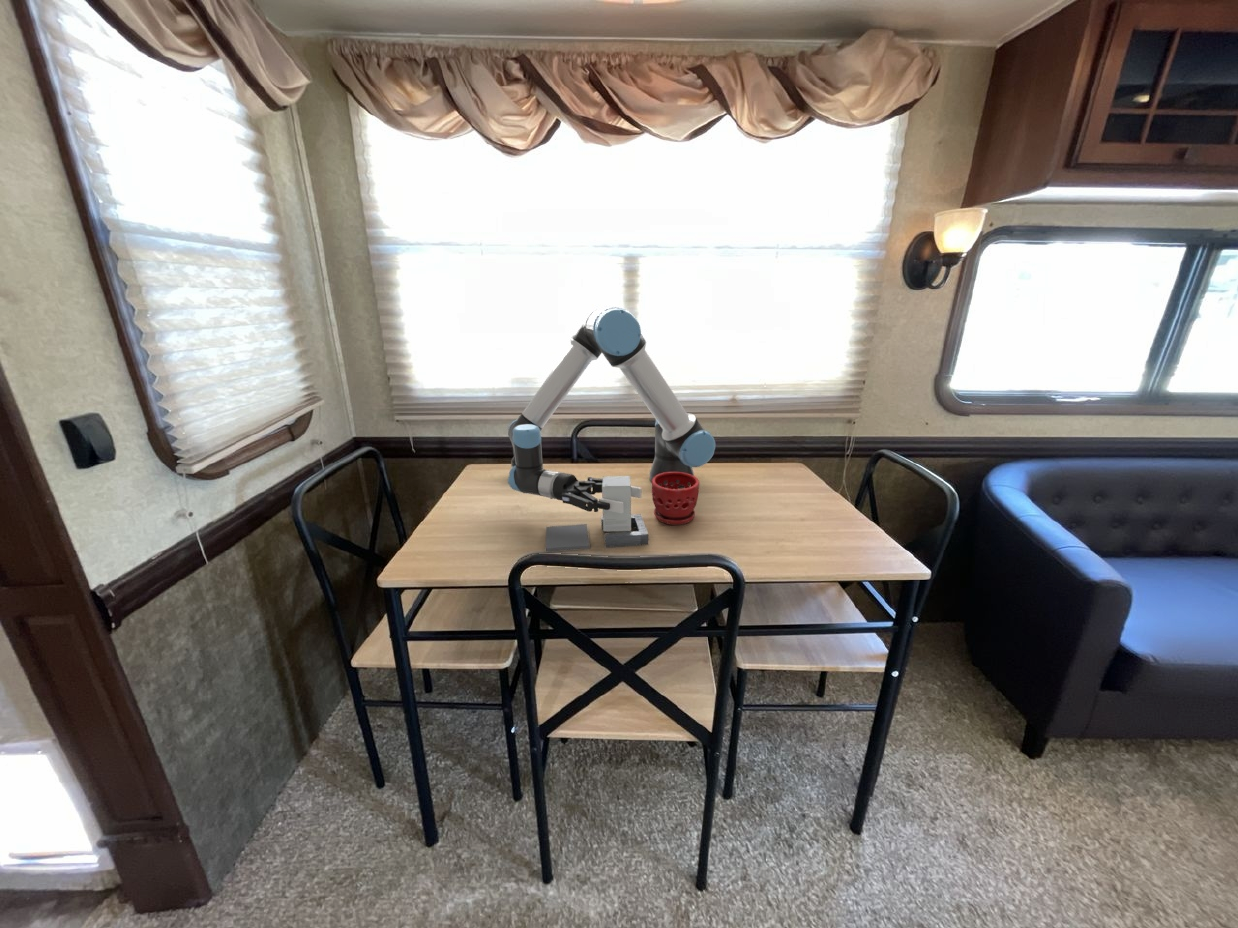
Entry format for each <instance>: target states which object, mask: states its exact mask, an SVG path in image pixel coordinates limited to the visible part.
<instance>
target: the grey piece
mask: <svg viewBox="0 0 1238 928" xmlns="http://www.w3.org/2000/svg"><path fill="white" fill-rule="evenodd" d="M600 517H601V518H600V521H601V522H600V524H601V527H600V528H601V530H602V531H603V515H601V516H600ZM633 528H634V529H635V531H618V532H606V533H605V532H604V546H605V548H606V549H607V548H620V547H622V548H624V547H634V546H636V547H637V546H649V532H648V530H647V526H646V524H645V522H644V518H643V516H642V514H641V513H636V514H635V513H634V514H631V529H633Z"/></svg>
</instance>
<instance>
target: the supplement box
mask: <svg viewBox="0 0 1238 928" xmlns="http://www.w3.org/2000/svg"><path fill="white" fill-rule="evenodd" d="M602 479H603V482H602V493H601V498H604V499H609V500H615V501H620V502H623V509H624V512H623V513H618V512H613V511H608V510H603V509H602V516H603V530H602V531H603V532H632V528H631V515H632V497H631V486H632V484H631V483H632V482H631V476H630V475H615V476H613V475H612V476H611V475H607V476H603V477H602Z"/></svg>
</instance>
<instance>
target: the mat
mask: <svg viewBox="0 0 1238 928" xmlns="http://www.w3.org/2000/svg"><path fill="white" fill-rule="evenodd" d="M545 528H546V529H545V531H546V532H545V552H546V553H549V552H550V553H551V552H563V551H564V550H566V551H575V550H576V551H577V550H590V549H591V545H590V538H589V531H588V529H589V528H588V524H586V523H584V524H582V523H581V524H570V525H569V524H567V525H554V526H552V525H551V526H546V527H545Z"/></svg>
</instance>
